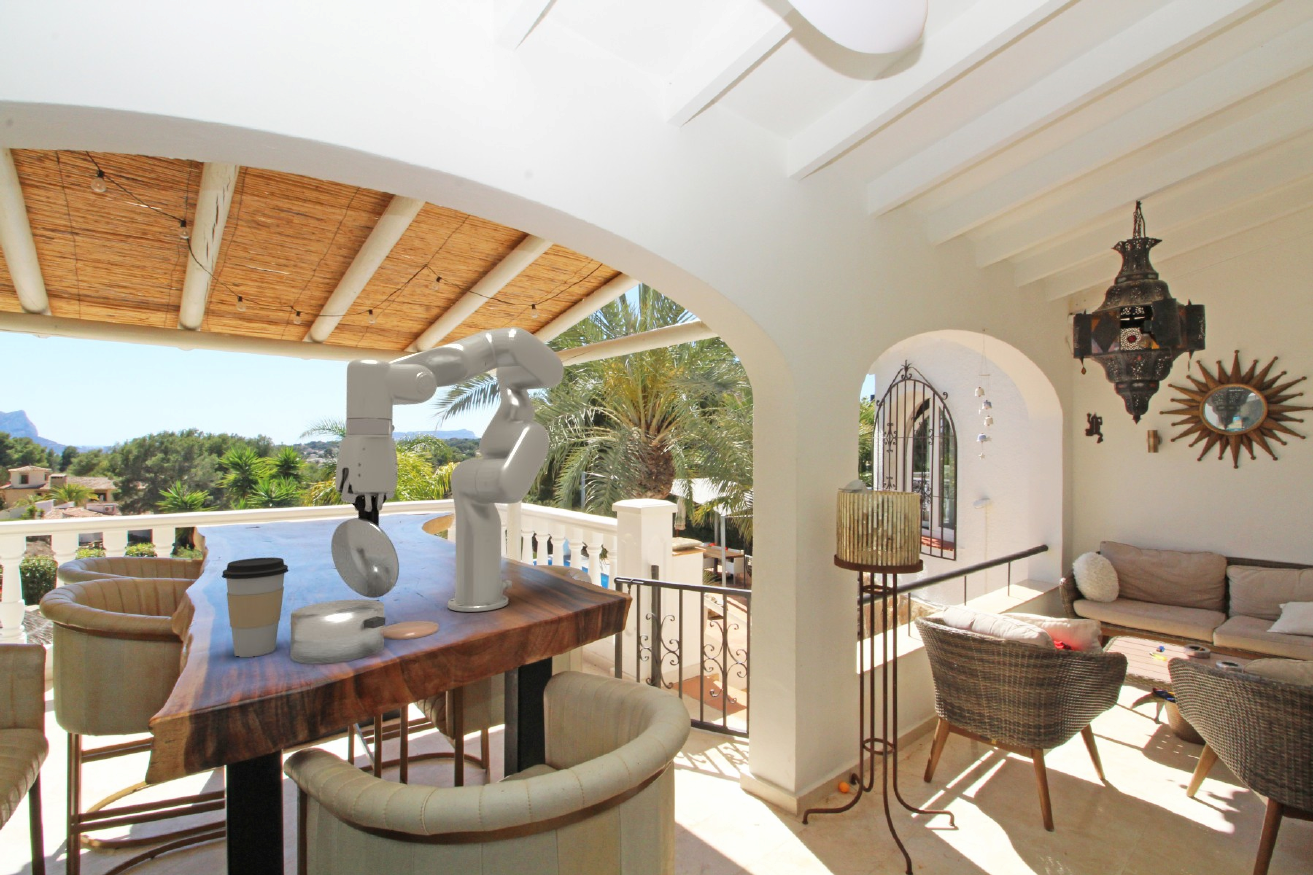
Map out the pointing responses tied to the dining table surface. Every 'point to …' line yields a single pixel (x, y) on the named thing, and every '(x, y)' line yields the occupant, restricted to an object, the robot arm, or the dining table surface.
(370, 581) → the lid
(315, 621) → the pot
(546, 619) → the dining table surface
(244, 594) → the coffee cup
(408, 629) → the coaster
